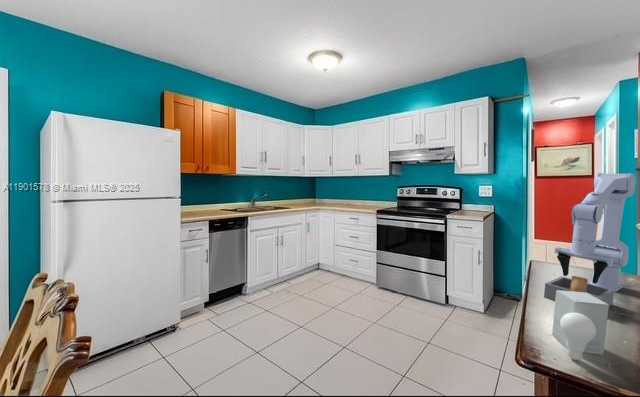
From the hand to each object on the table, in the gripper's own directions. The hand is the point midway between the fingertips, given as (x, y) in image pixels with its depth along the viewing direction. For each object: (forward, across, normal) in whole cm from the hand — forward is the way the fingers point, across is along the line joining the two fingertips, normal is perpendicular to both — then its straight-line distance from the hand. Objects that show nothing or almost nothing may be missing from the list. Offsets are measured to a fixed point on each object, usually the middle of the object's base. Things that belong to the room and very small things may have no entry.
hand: (579, 279), depth 96 cm
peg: (+8, 0, 0) cm, 8 cm away
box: (+8, 0, 0) cm, 8 cm away
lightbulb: (+8, +12, -41) cm, 43 cm away
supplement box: (+8, +10, -33) cm, 35 cm away
